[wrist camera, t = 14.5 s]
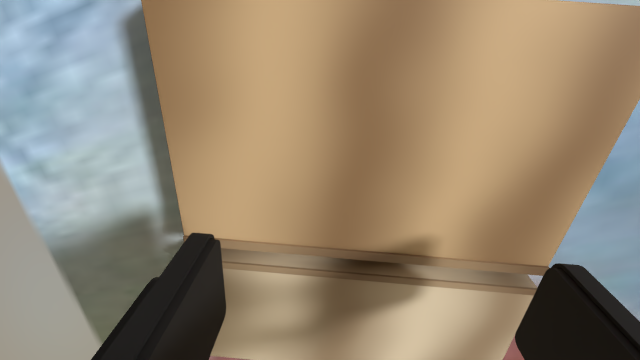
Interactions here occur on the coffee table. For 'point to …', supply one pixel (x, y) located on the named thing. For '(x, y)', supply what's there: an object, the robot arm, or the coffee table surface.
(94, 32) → the coffee table surface
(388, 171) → the plank
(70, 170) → the coffee table surface
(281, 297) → the laid board
